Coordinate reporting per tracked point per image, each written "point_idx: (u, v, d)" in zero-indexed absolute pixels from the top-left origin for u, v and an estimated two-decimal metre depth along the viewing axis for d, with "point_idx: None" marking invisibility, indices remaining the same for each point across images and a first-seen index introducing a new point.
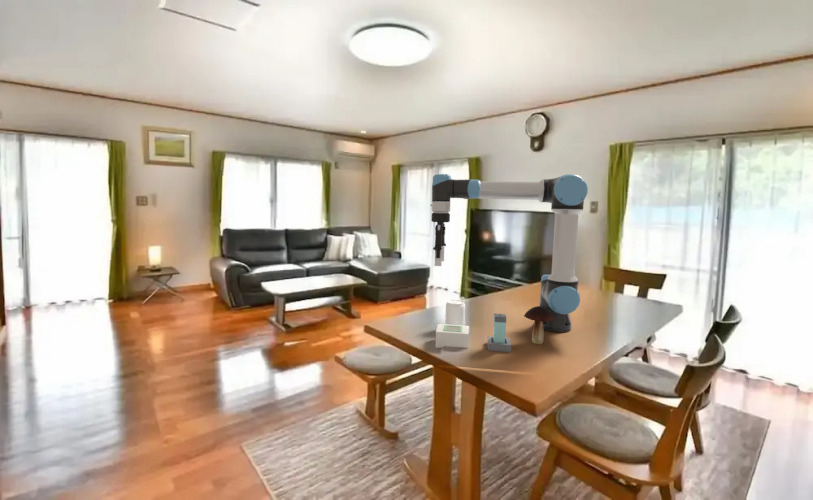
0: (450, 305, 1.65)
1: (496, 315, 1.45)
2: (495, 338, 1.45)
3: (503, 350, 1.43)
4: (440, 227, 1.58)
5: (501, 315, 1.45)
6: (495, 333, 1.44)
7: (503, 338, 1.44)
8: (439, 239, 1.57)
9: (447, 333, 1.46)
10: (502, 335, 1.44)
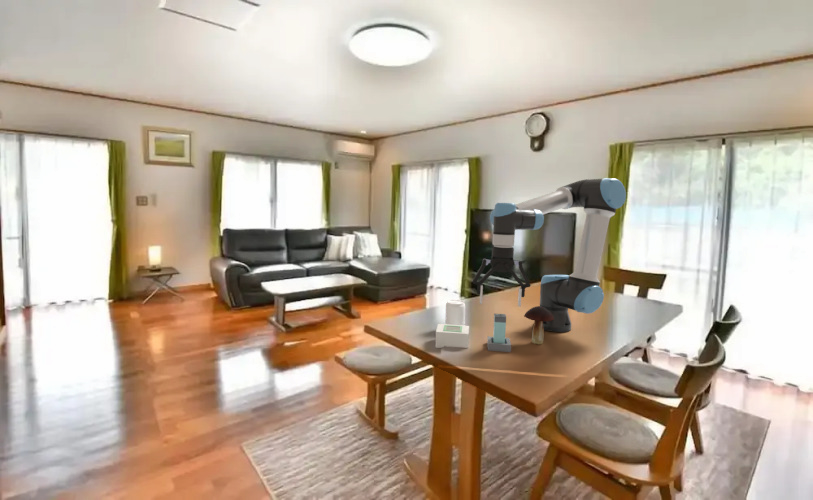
0: (450, 305, 1.65)
1: (496, 315, 1.45)
2: (495, 338, 1.45)
3: (503, 350, 1.43)
4: None
5: (501, 315, 1.45)
6: (495, 333, 1.44)
7: (503, 338, 1.44)
8: None
9: (447, 333, 1.46)
10: (502, 335, 1.44)
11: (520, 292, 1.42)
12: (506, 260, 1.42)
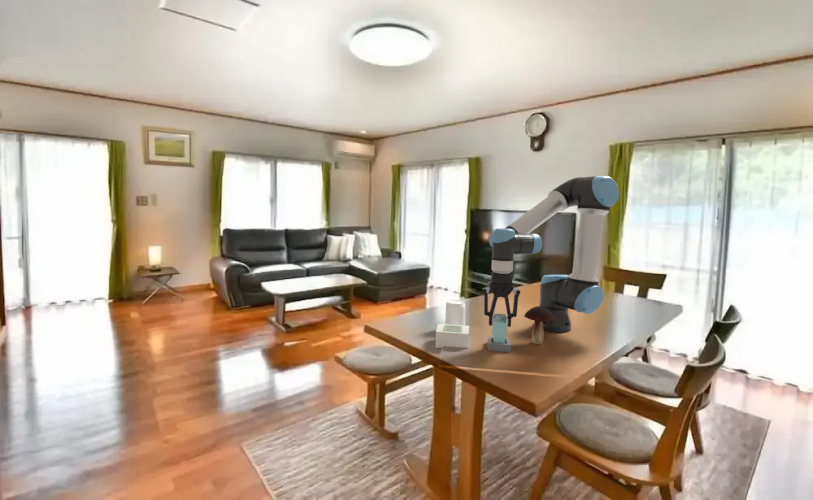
0: (450, 305, 1.65)
1: (496, 315, 1.45)
2: (495, 338, 1.45)
3: (503, 350, 1.43)
4: (483, 291, 1.45)
5: (501, 315, 1.45)
6: (495, 333, 1.44)
7: (503, 338, 1.44)
8: (484, 305, 1.45)
9: (447, 333, 1.46)
10: (502, 335, 1.44)
11: (506, 322, 1.44)
12: (507, 283, 1.43)
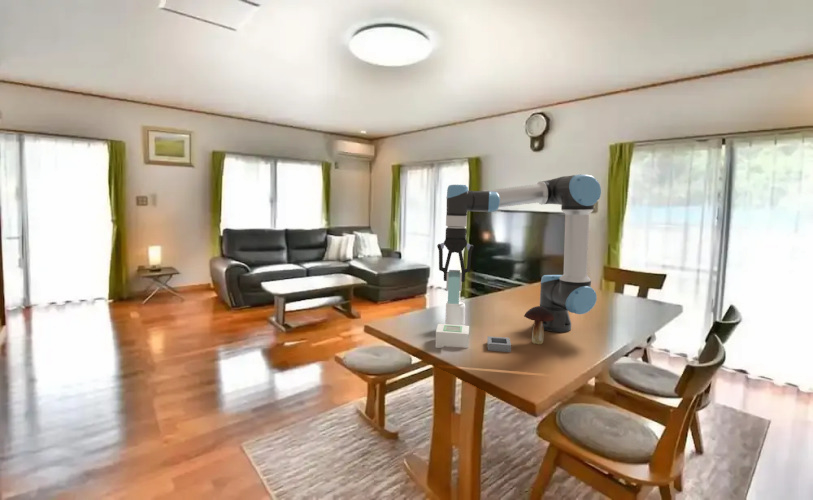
0: (450, 305, 1.65)
1: (450, 270, 1.48)
2: (449, 293, 1.47)
3: (503, 350, 1.43)
4: None
5: (455, 270, 1.48)
6: (449, 288, 1.47)
7: (457, 293, 1.47)
8: (439, 260, 1.48)
9: (447, 333, 1.46)
10: (456, 290, 1.47)
11: (460, 277, 1.47)
12: (461, 239, 1.45)
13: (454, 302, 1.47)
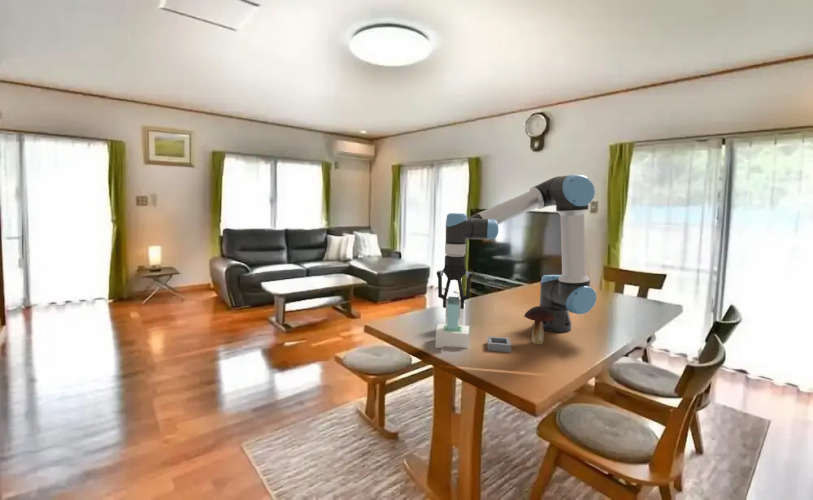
0: None
1: (450, 297, 1.49)
2: (448, 320, 1.49)
3: (503, 350, 1.43)
4: (437, 274, 1.49)
5: (454, 298, 1.49)
6: (448, 315, 1.48)
7: (456, 320, 1.48)
8: (438, 287, 1.50)
9: (447, 333, 1.46)
10: (455, 317, 1.48)
11: (459, 304, 1.48)
12: (460, 267, 1.47)
13: (453, 329, 1.49)
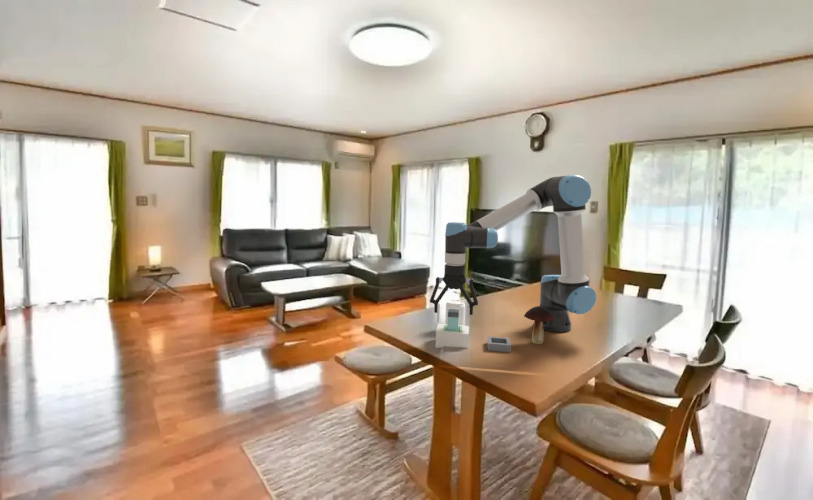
0: (450, 305, 1.65)
1: (450, 310, 1.50)
2: None
3: (503, 350, 1.43)
4: None
5: (454, 310, 1.50)
6: (448, 328, 1.49)
7: None
8: None
9: (447, 333, 1.46)
10: (455, 330, 1.49)
11: (468, 310, 1.48)
12: (458, 277, 1.47)
13: None
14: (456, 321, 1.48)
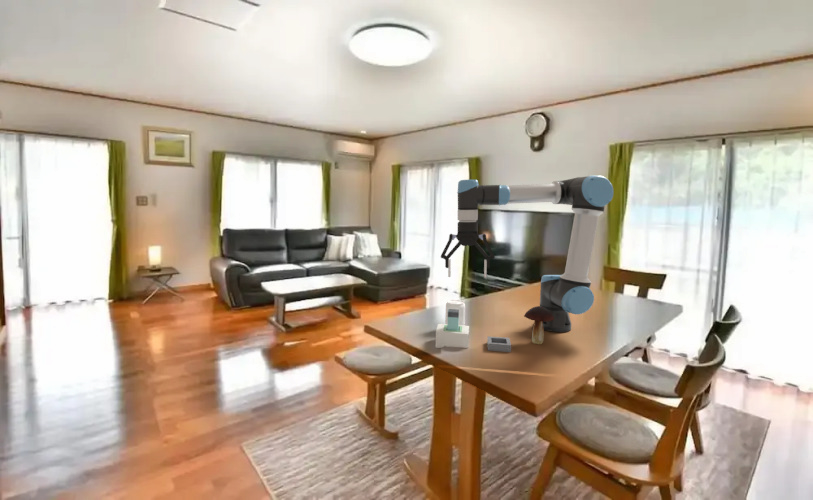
0: (450, 305, 1.65)
1: (450, 310, 1.50)
2: None
3: (503, 350, 1.43)
4: (449, 236, 1.52)
5: (454, 310, 1.50)
6: (448, 328, 1.49)
7: None
8: None
9: (447, 333, 1.46)
10: (455, 330, 1.49)
11: (485, 264, 1.50)
12: (471, 234, 1.50)
13: None
14: (456, 321, 1.48)
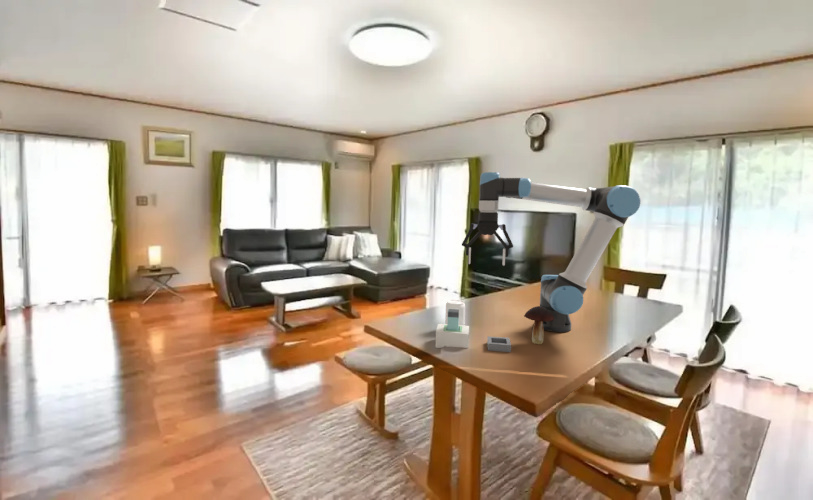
0: (450, 305, 1.65)
1: (450, 310, 1.50)
2: None
3: (503, 350, 1.43)
4: None
5: (454, 310, 1.50)
6: (448, 328, 1.49)
7: None
8: (465, 237, 1.62)
9: (447, 333, 1.46)
10: (455, 330, 1.49)
11: (504, 252, 1.59)
12: (491, 224, 1.59)
13: None
14: (456, 321, 1.48)
